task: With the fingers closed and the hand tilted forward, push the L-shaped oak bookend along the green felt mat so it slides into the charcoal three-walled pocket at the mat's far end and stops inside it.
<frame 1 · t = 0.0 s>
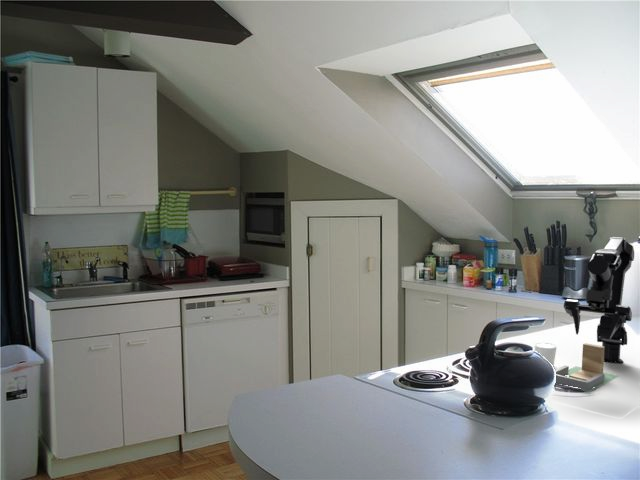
hand: (592, 336, 206), 15 cm above the counter, tool tilted 35°, fingers open, 9 cm apart
pocket: (577, 380, 211), resting on mat
mat: (582, 379, 213), on the counter
white cup: (544, 366, 227), on the counter
bookend: (586, 376, 215), resting on mat
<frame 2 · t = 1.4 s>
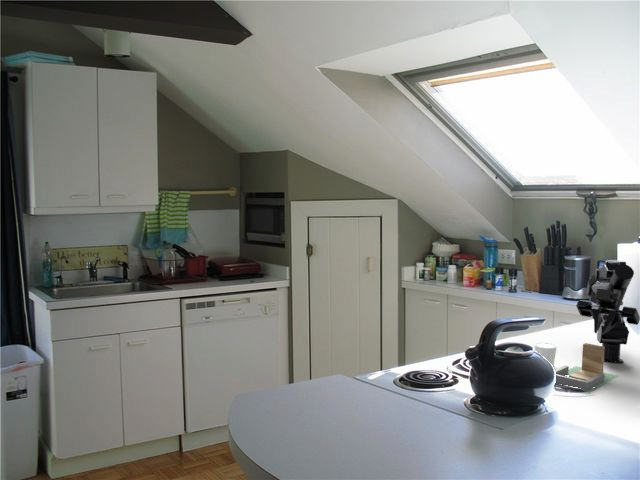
hand: (598, 333, 219), 13 cm above the counter, tool tilted 45°, fingers closed
nothing on the counter moved.
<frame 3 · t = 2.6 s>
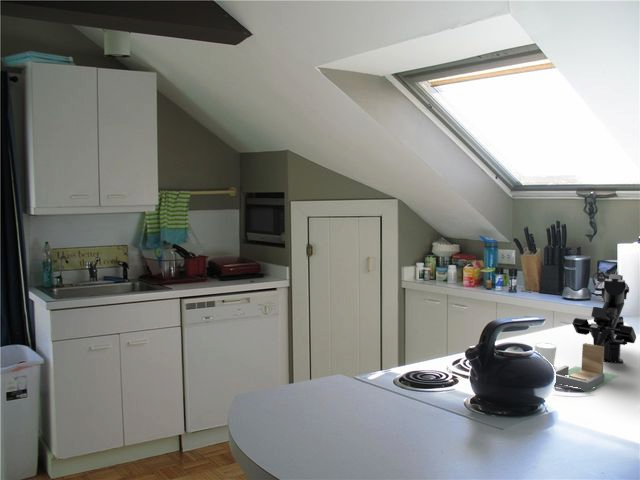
hand: (595, 351, 218), 7 cm above the counter, tool tilted 45°, fingers closed, pressing on bookend
bookend: (585, 376, 215), resting on mat, touching gripper
everything else where it was.
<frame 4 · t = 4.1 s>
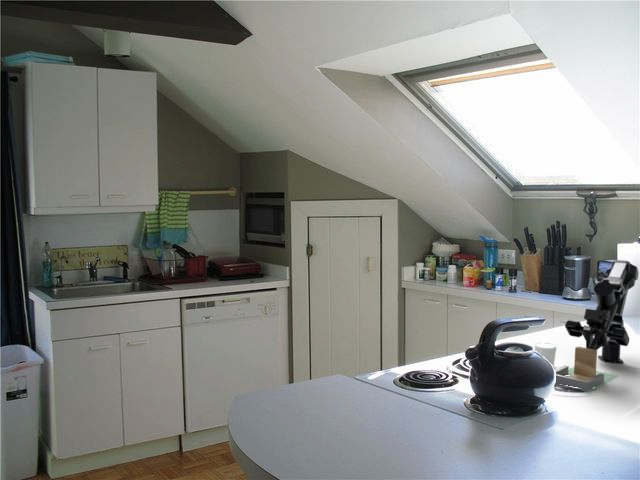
hand: (587, 354, 214), 7 cm above the counter, tool tilted 45°, fingers closed, pressing on bookend
bookend: (578, 380, 211), resting on mat, touching gripper
everything else where it was.
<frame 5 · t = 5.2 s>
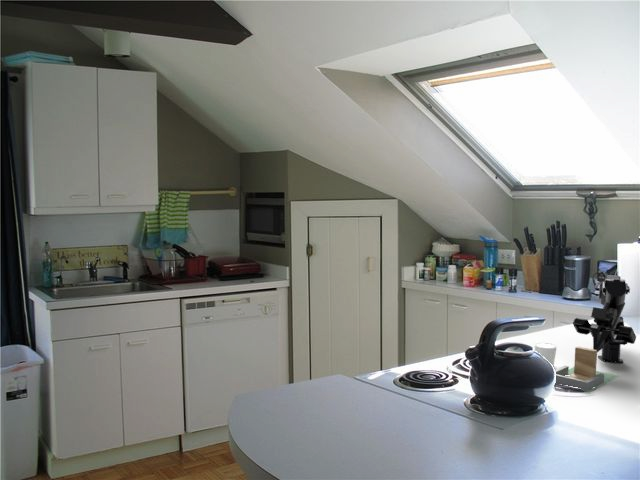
hand: (594, 352, 219), 7 cm above the counter, tool tilted 45°, fingers closed
bookend: (578, 380, 211), resting on mat
everything else where it was.
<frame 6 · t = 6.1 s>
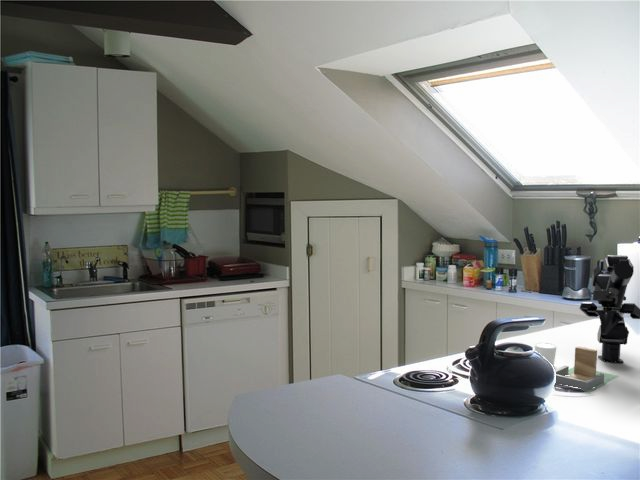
hand: (603, 334, 219), 12 cm above the counter, tool tilted 35°, fingers closed
nothing on the counter moved.
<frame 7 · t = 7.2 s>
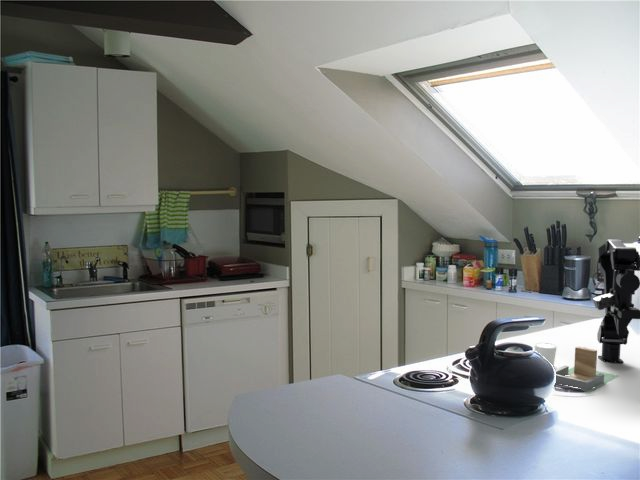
hand: (619, 335, 220), 12 cm above the counter, tool pointing down, fingers closed
nothing on the counter moved.
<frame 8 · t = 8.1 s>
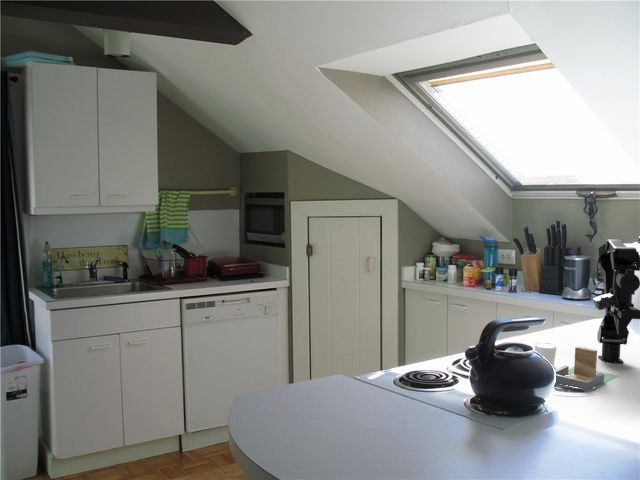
hand: (619, 335, 220), 12 cm above the counter, tool pointing down, fingers closed
nothing on the counter moved.
at the end: bookend 0.5 cm from the pocket (horizontally); bookend tilted 0°; bookend moved 5.7 cm from its start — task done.
